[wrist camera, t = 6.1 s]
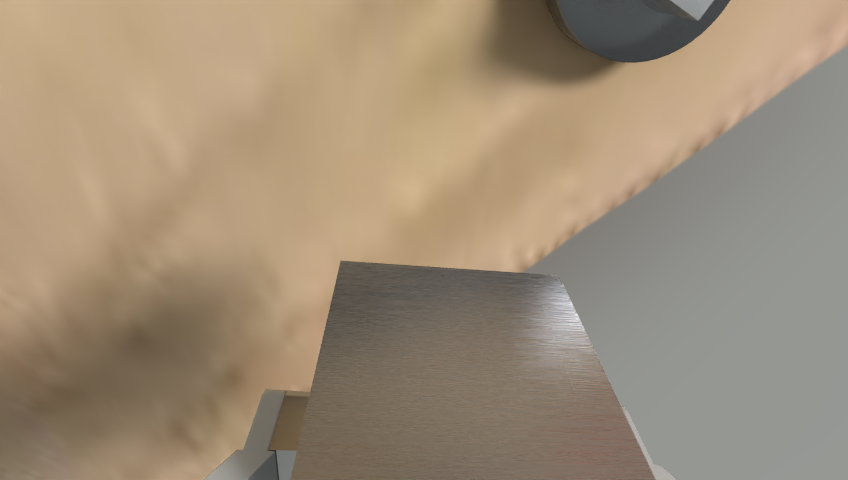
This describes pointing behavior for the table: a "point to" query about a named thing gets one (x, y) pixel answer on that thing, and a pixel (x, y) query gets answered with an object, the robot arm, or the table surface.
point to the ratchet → (634, 25)
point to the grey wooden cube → (460, 383)
